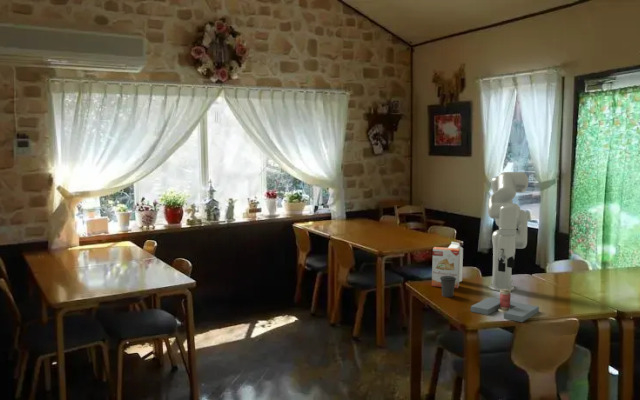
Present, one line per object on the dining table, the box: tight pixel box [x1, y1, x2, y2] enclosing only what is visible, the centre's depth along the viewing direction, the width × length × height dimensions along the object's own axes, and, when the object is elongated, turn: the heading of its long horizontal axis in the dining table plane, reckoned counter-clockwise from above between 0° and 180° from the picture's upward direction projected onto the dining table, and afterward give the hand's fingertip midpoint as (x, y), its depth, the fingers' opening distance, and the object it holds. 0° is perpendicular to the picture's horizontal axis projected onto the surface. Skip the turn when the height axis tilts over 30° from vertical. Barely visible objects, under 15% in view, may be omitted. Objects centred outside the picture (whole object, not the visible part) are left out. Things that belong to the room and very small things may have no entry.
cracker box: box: [431, 246, 460, 289], centre depth 306 cm, size 14×6×21 cm, turn 70°
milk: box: [447, 241, 464, 283], centre depth 318 cm, size 6×6×22 cm
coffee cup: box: [440, 276, 456, 298], centre depth 288 cm, size 8×8×10 cm
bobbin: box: [497, 289, 512, 314], centre depth 262 cm, size 6×6×10 cm
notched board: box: [470, 297, 540, 323], centre depth 262 cm, size 20×24×2 cm
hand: (506, 269), depth 260 cm, fingers open, 9 cm apart
